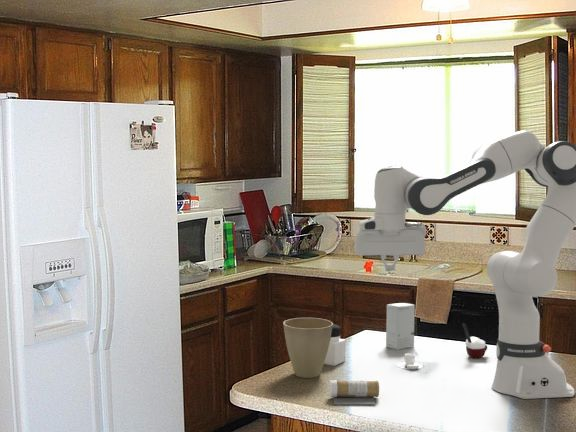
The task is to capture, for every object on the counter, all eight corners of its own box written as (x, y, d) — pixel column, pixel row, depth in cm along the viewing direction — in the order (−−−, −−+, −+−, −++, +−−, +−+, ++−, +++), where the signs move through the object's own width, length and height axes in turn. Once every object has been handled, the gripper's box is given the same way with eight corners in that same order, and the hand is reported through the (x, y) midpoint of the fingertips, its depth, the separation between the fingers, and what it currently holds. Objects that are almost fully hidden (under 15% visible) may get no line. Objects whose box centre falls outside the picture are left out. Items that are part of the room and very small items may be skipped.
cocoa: (485, 354, 278) (486, 319, 277) (491, 359, 272) (492, 323, 271) (457, 355, 278) (458, 319, 277) (462, 360, 271) (463, 323, 270)
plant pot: (276, 379, 250) (276, 326, 248) (291, 366, 264) (291, 316, 262) (325, 383, 245) (325, 329, 243) (337, 370, 259) (338, 319, 258)
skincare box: (397, 350, 284) (397, 306, 283) (384, 346, 289) (385, 304, 287) (415, 346, 289) (415, 304, 287) (402, 343, 294) (403, 301, 292)
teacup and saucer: (419, 372, 259) (419, 359, 258) (393, 369, 261) (394, 357, 261) (424, 365, 267) (425, 352, 266) (400, 362, 270) (400, 350, 269)
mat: (371, 387, 242) (371, 385, 242) (375, 405, 225) (375, 403, 225) (333, 386, 242) (333, 384, 242) (333, 405, 225) (333, 403, 225)
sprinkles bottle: (377, 394, 233) (328, 394, 233) (377, 378, 233) (329, 378, 233) (379, 399, 229) (330, 399, 228) (379, 382, 229) (330, 382, 228)
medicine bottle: (345, 361, 270) (346, 324, 269) (334, 366, 264) (335, 328, 263) (326, 358, 274) (326, 321, 273) (315, 362, 268) (315, 325, 267)
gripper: (424, 221, 244) (424, 268, 245) (354, 221, 245) (354, 269, 246) (427, 223, 238) (427, 271, 239) (355, 224, 238) (355, 272, 240)
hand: (389, 270), depth 242 cm, fingers closed
